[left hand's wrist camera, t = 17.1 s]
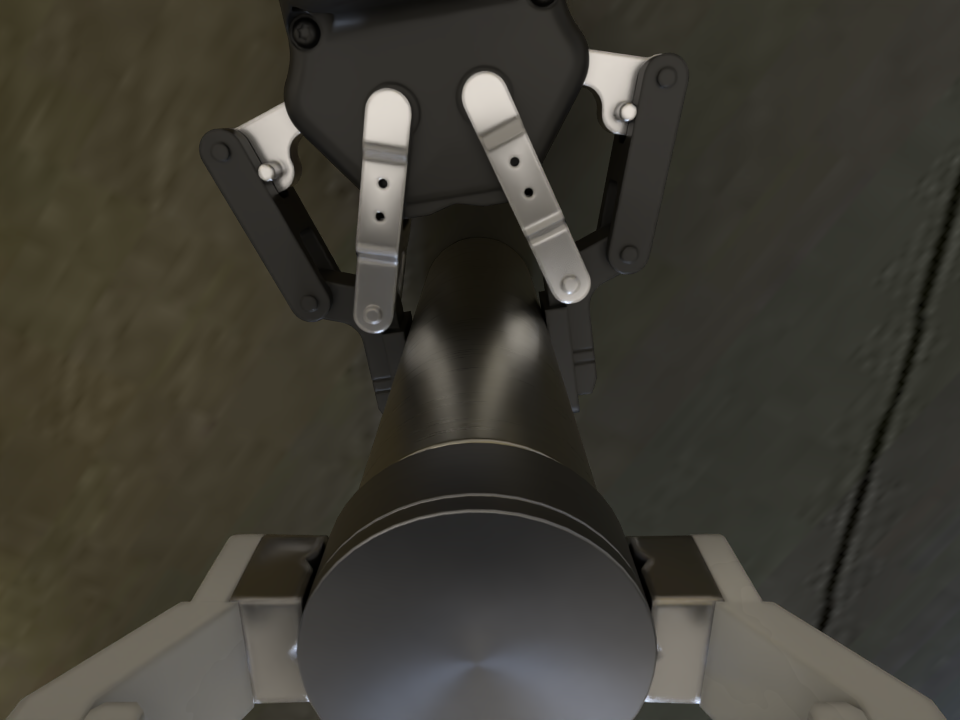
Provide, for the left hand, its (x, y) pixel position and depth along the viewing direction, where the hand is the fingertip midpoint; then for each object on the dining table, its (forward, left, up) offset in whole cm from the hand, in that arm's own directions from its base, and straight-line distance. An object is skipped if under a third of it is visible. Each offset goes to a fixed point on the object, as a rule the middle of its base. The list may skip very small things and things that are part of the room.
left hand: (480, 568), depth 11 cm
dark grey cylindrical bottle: (0, 0, -18) cm, 18 cm away
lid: (0, 0, +2) cm, 2 cm away
